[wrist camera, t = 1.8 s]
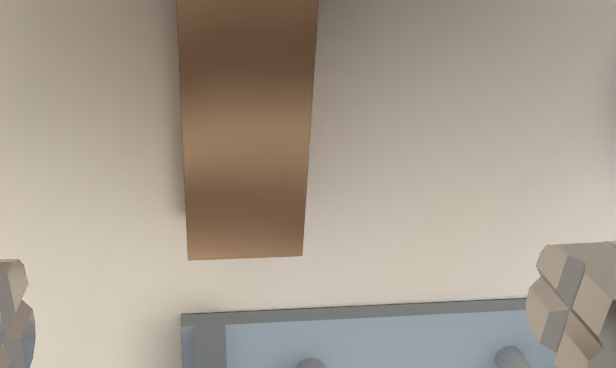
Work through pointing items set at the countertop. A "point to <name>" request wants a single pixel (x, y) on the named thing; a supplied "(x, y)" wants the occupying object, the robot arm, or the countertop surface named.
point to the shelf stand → (367, 337)
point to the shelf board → (246, 124)
